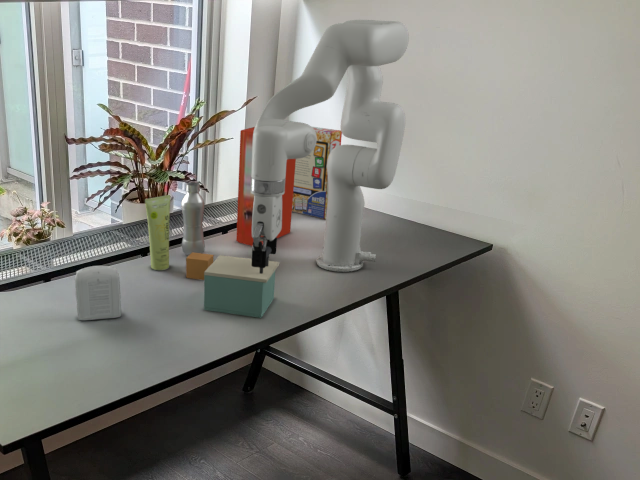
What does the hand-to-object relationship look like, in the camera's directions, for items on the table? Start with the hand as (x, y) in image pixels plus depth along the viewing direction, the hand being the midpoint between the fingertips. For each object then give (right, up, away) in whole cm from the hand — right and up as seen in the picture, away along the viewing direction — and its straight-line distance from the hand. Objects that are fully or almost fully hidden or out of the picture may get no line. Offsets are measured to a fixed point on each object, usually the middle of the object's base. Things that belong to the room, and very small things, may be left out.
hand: (264, 260), depth 169 cm
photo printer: (-38, -13, +2) cm, 41 cm away
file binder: (+5, +15, +52) cm, 54 cm away
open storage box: (-5, -9, +8) cm, 13 cm away
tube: (-26, +3, +30) cm, 39 cm away
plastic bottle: (-16, +8, +39) cm, 43 cm away
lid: (-5, -2, +3) cm, 6 cm away
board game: (+21, +28, +74) cm, 82 cm away
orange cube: (-15, 0, +24) cm, 28 cm away
